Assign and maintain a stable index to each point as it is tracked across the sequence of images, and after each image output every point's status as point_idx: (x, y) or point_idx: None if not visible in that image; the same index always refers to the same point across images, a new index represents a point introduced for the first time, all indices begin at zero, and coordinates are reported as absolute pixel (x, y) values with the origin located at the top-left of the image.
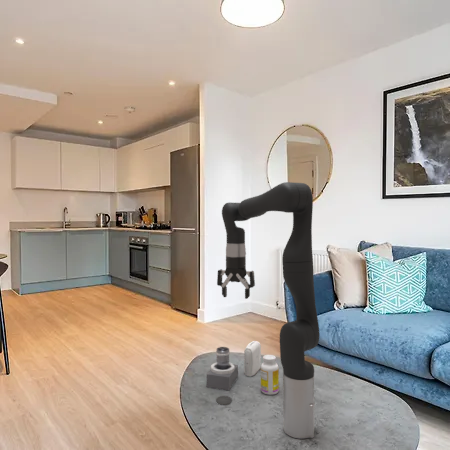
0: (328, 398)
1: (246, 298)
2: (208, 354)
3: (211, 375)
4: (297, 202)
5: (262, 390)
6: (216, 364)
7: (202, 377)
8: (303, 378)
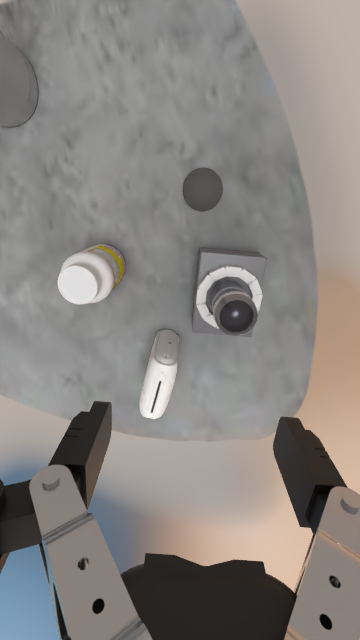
0: None
1: (98, 401)
2: None
3: (252, 256)
4: None
5: (117, 251)
6: None
7: (277, 301)
8: None
